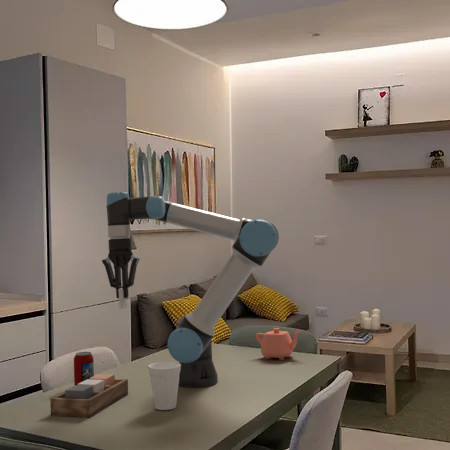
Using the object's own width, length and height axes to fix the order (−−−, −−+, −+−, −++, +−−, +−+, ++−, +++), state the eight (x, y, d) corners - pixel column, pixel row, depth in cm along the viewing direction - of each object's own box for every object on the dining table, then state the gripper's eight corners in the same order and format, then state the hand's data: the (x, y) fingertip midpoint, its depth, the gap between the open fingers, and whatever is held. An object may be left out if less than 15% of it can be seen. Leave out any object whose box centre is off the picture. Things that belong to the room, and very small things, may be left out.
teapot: (297, 362, 245) (296, 332, 245) (250, 359, 253) (249, 330, 253) (307, 356, 257) (306, 326, 257) (262, 353, 265) (261, 325, 265)
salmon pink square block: (115, 386, 203) (114, 374, 203) (106, 391, 197) (106, 378, 197) (98, 386, 204) (98, 373, 204) (89, 390, 199) (89, 378, 199)
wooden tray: (128, 394, 204) (127, 379, 204) (90, 417, 179) (89, 400, 179) (92, 392, 208) (92, 377, 208) (50, 415, 183) (50, 398, 183)
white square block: (104, 392, 195) (104, 380, 196) (95, 397, 190) (95, 384, 190) (87, 391, 197) (87, 379, 197) (78, 396, 191) (77, 384, 191)
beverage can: (89, 390, 211) (88, 355, 211) (71, 389, 213) (70, 355, 213) (97, 385, 218) (96, 351, 218) (79, 384, 219) (78, 351, 219)
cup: (169, 414, 180) (167, 370, 180) (142, 410, 185) (141, 367, 185) (188, 406, 188) (187, 363, 188) (162, 402, 193) (161, 360, 194)
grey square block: (93, 399, 188) (92, 385, 188) (83, 404, 182) (82, 391, 183) (75, 398, 190) (75, 385, 190) (65, 403, 184) (64, 390, 184)
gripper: (141, 236, 210) (145, 306, 210) (106, 238, 213) (109, 306, 213) (133, 237, 203) (136, 308, 202) (97, 239, 206) (100, 309, 205)
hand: (123, 307), depth 207 cm, fingers closed
